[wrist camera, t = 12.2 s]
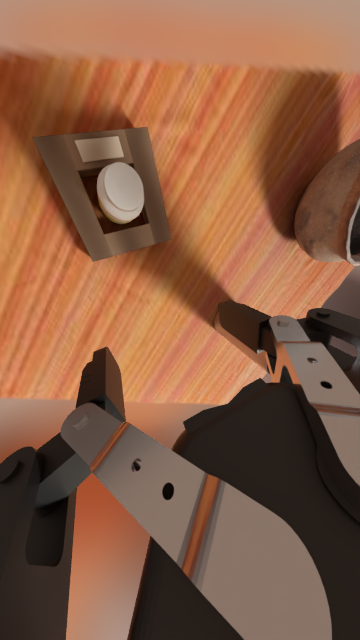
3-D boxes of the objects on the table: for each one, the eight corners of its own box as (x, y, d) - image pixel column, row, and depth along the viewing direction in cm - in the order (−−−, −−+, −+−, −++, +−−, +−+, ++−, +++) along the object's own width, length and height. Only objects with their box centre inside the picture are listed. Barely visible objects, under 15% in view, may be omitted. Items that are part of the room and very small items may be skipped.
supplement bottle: (122, 232, 26) (130, 229, 18) (90, 202, 23) (83, 184, 15) (142, 205, 26) (159, 190, 18) (112, 171, 23) (117, 136, 15)
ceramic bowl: (307, 265, 49) (375, 274, 37) (261, 249, 39) (333, 254, 27) (351, 177, 41) (457, 151, 29) (307, 129, 31) (439, 59, 19)
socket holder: (142, 139, 22) (147, 126, 20) (165, 239, 29) (172, 239, 27) (41, 150, 19) (31, 136, 17) (93, 259, 26) (93, 261, 23)
